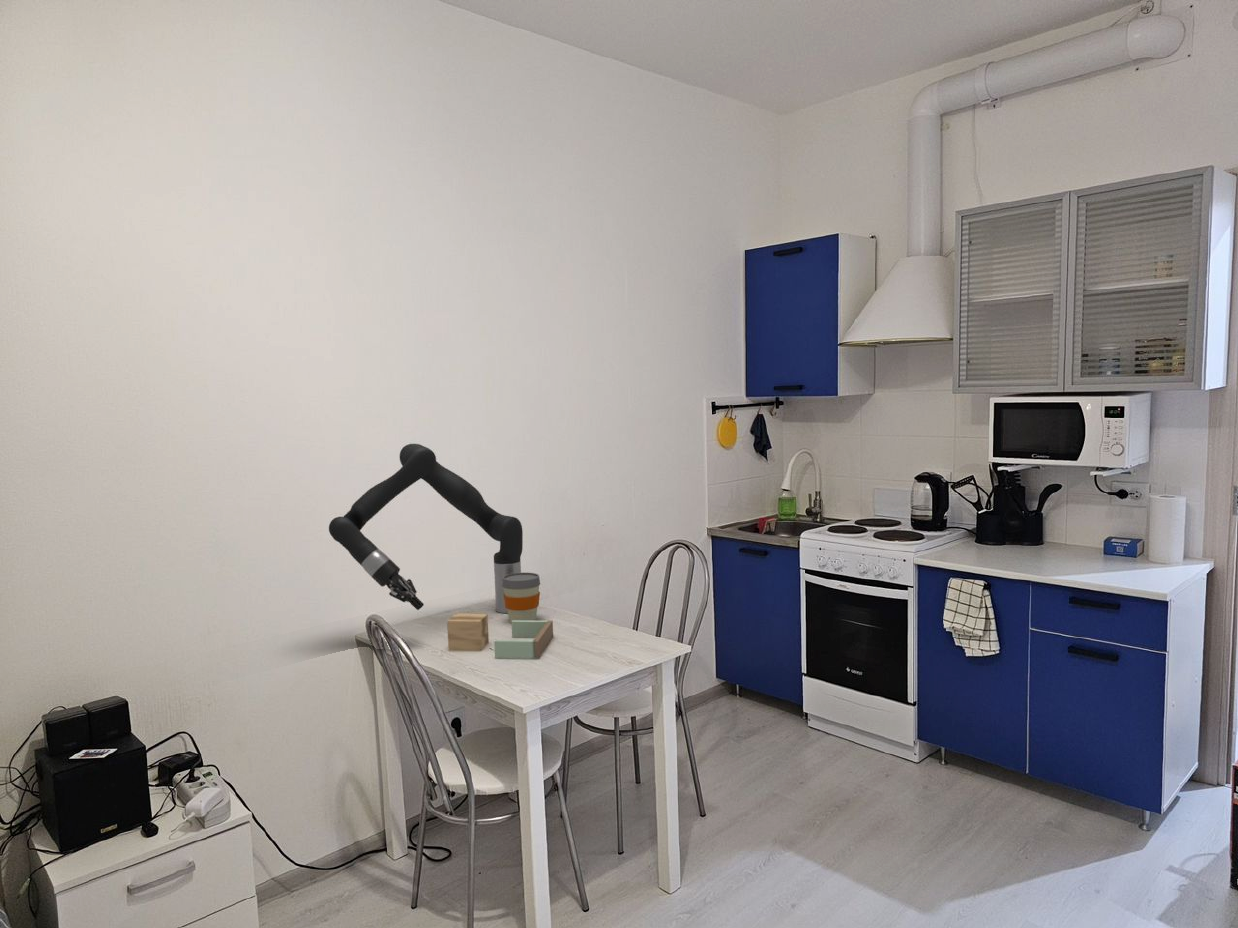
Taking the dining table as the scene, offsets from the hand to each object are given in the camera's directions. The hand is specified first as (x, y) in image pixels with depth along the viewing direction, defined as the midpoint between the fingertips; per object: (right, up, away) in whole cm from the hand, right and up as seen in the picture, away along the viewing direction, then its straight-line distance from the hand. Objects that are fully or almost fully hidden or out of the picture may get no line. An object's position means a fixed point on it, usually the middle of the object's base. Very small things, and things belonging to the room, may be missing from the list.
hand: (421, 607), depth 247 cm
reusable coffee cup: (+28, -9, +25) cm, 38 cm away
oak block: (+15, -12, -1) cm, 19 cm away
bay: (+31, -11, -3) cm, 34 cm away
